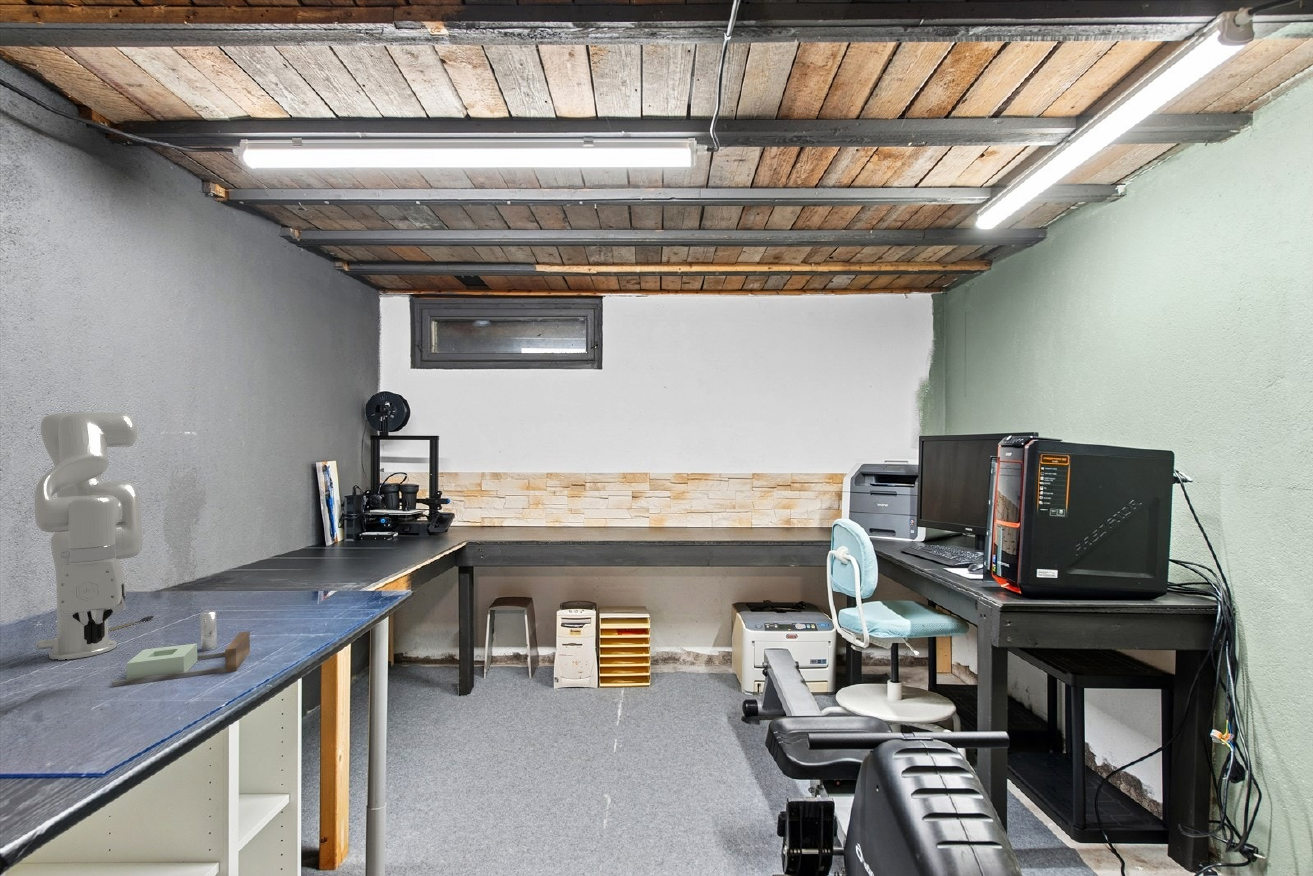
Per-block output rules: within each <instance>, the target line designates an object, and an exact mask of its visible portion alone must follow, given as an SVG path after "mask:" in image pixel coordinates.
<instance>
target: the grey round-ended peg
mask: <svg viewBox="0 0 1313 876" xmlns="http://www.w3.org/2000/svg"><path fill="white" fill-rule="evenodd" d="M199 617H200V618H199V620H200V650H201V651H203V652H204V651H212V650H213V651H214V650H215V649H217V648H218V632H217V631H218V627H217V626H218V623H217V622H218V620H217V611H216V610H208V611H203V612H201V613H200V615H199Z"/></svg>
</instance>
